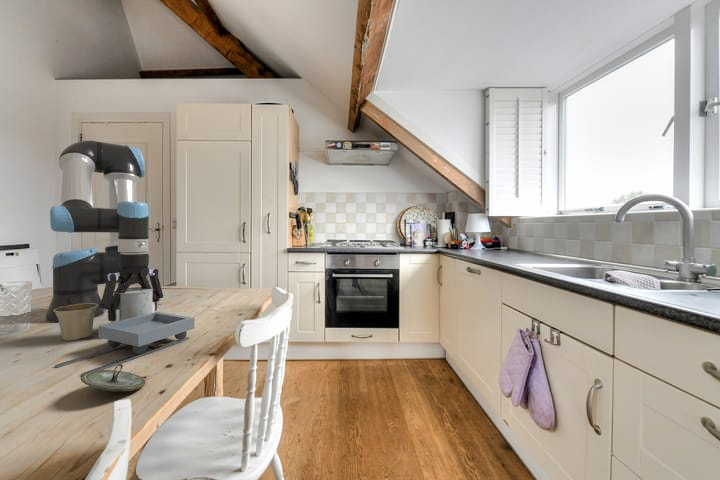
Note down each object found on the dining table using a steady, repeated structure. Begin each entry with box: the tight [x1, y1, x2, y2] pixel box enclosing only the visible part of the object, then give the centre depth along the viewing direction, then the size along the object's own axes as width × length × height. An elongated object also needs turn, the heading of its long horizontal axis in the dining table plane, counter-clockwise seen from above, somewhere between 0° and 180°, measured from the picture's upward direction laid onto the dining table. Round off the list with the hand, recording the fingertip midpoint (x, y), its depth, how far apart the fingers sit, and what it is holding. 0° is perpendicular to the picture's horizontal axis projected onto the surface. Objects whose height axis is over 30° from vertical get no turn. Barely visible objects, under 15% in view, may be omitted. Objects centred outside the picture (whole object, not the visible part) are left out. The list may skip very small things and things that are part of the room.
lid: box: [80, 363, 147, 392], centre depth 61 cm, size 11×10×5 cm
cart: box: [98, 311, 196, 354], centre depth 84 cm, size 15×15×6 cm
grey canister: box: [114, 286, 153, 321], centre depth 95 cm, size 10×10×12 cm
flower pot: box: [53, 303, 98, 341], centre depth 89 cm, size 9×9×9 cm
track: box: [54, 336, 190, 376], centre depth 80 cm, size 11×25×1 cm, turn 158°
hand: (134, 326), depth 95 cm, fingers closed on grey canister, 9 cm apart
